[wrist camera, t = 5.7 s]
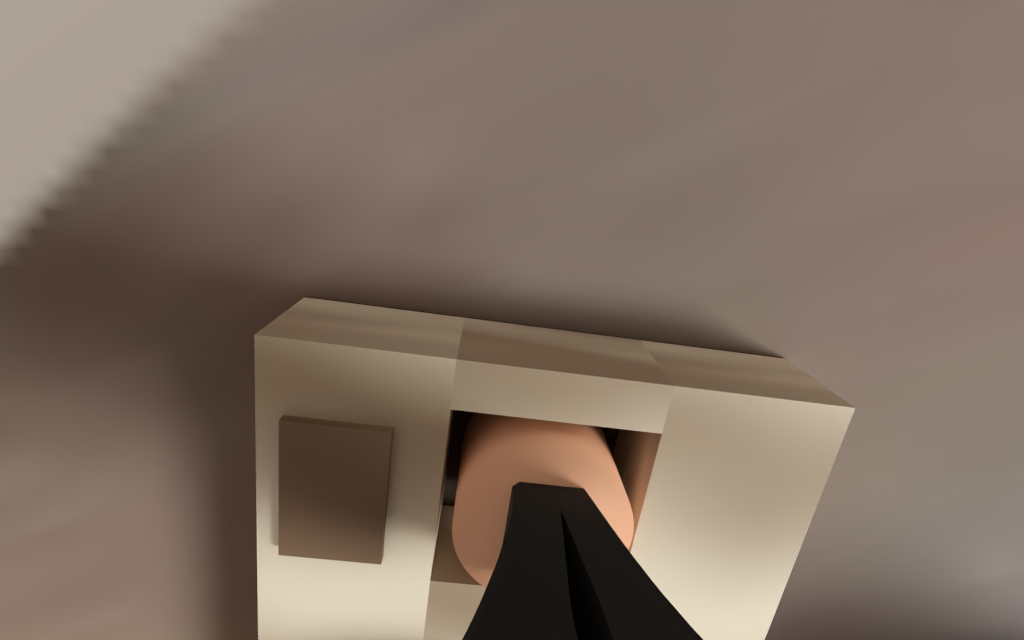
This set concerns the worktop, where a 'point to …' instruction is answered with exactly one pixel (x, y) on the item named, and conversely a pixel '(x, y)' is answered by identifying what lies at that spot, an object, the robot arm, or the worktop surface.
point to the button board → (526, 394)
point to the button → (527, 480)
